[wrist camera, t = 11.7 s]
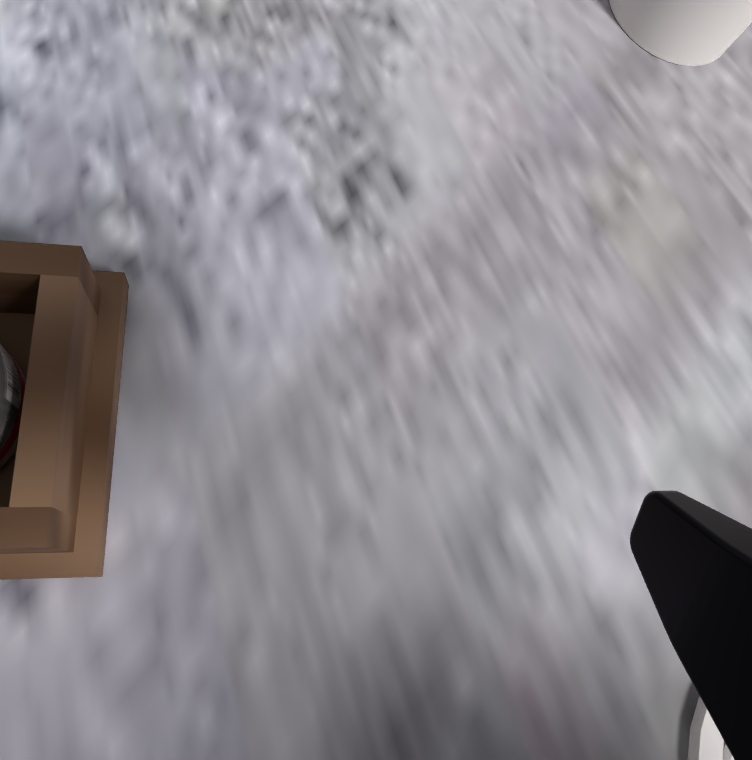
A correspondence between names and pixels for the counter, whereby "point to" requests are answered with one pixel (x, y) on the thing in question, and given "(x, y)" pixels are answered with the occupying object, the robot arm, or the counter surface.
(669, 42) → the cylindrical container
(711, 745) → the pendant
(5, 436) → the pill bottle
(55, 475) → the socket block
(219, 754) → the counter surface
